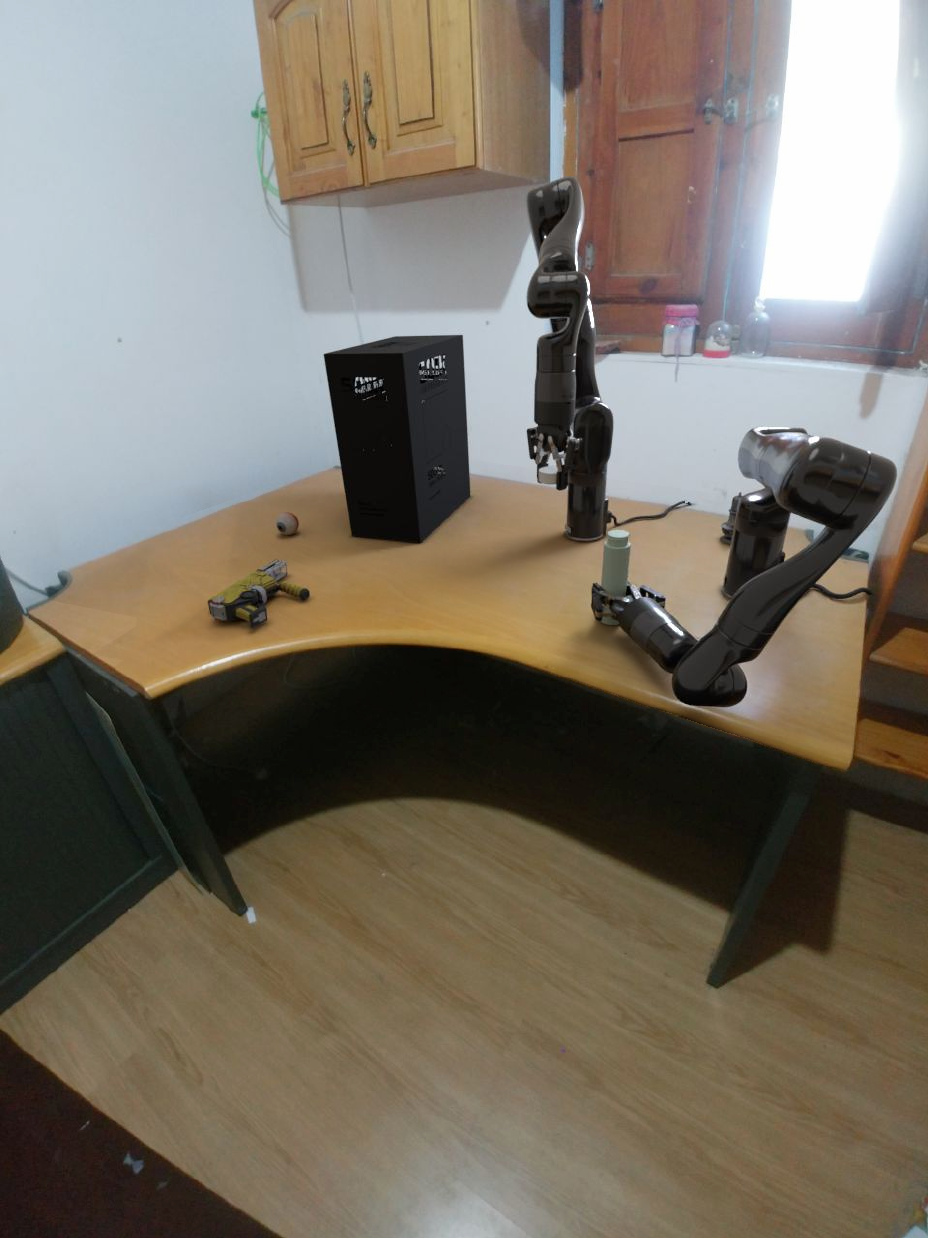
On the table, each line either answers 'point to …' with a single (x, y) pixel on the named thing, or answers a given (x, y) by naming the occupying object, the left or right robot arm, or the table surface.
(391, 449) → the cardboard box
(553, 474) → the lid
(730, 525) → the salt shaker
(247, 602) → the toy gun
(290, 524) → the eyeball
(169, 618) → the table surface
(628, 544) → the jar
